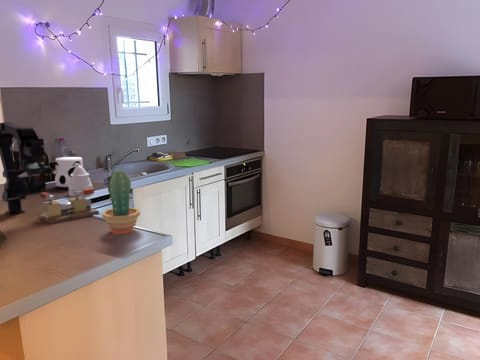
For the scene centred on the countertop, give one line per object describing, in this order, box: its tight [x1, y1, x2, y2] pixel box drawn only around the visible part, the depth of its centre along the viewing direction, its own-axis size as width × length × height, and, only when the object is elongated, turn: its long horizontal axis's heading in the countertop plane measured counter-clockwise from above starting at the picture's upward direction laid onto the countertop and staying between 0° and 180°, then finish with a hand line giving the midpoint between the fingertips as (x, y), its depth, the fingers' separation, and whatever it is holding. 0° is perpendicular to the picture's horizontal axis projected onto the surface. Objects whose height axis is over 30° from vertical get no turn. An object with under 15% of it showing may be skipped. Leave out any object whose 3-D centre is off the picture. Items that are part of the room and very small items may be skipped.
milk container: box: [54, 156, 84, 189], centre depth 243 cm, size 17×17×18 cm
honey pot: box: [68, 164, 94, 198], centre depth 225 cm, size 13×13×18 cm
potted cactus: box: [101, 169, 141, 235], centre depth 160 cm, size 15×15×25 cm
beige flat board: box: [38, 207, 100, 225], centre depth 182 cm, size 13×22×2 cm, turn 138°
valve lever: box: [39, 192, 55, 202], centre depth 177 cm, size 9×3×2 cm, turn 48°
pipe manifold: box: [41, 187, 95, 219], centre depth 182 cm, size 6×23×10 cm, turn 138°
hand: (29, 191), depth 174 cm, fingers closed
